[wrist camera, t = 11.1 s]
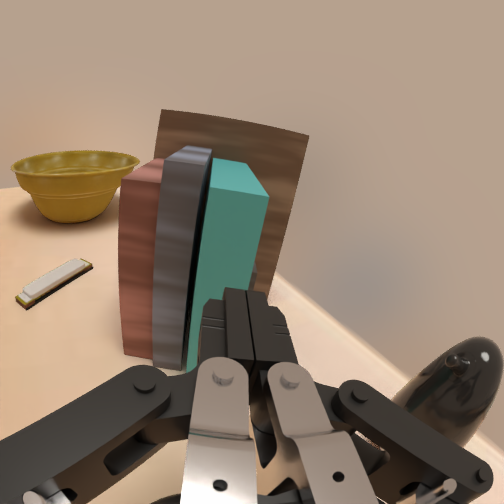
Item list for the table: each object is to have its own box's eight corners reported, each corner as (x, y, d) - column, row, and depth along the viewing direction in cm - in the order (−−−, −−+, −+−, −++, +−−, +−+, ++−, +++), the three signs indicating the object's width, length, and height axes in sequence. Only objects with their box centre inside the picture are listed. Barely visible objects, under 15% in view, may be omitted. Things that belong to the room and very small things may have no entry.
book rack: (280, 378, 30) (359, 146, 20) (118, 359, 27) (122, 102, 17) (264, 303, 44) (307, 135, 33) (145, 287, 40) (163, 109, 30)
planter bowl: (-10, 237, 40) (-15, 173, 34) (41, 193, 67) (43, 149, 62) (127, 246, 51) (131, 175, 45) (139, 198, 78) (144, 152, 73)
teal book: (223, 389, 27) (269, 196, 19) (185, 386, 26) (209, 186, 18) (219, 302, 41) (246, 163, 33) (192, 298, 41) (213, 157, 33)
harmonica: (27, 313, 28) (24, 301, 28) (16, 304, 29) (13, 292, 28) (93, 270, 42) (92, 259, 41) (81, 264, 42) (80, 254, 41)
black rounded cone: (350, 418, 26) (424, 306, 20) (418, 408, 27) (487, 310, 21) (376, 497, 16) (494, 397, 10) (448, 470, 18) (544, 374, 12)
